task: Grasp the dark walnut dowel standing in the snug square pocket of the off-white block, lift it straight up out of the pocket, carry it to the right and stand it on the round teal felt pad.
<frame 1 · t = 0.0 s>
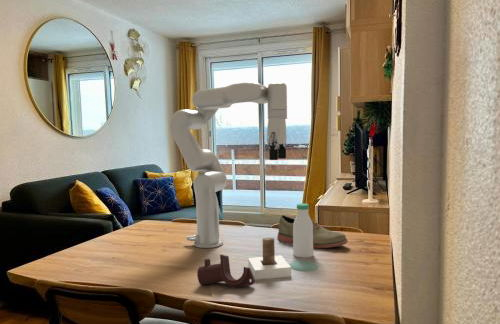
hand: (278, 159, 138), 37 cm above the table, tool pointing down, fingers open, 9 cm apart
milk bottle: (303, 256, 136), on the table
bracket: (227, 286, 110), on the table
walnut dowel: (268, 271, 119), resting on pocket block
pocket block: (268, 272, 119), on the table
oxford shoe: (310, 244, 151), on the table
felt pad: (303, 267, 124), on the table
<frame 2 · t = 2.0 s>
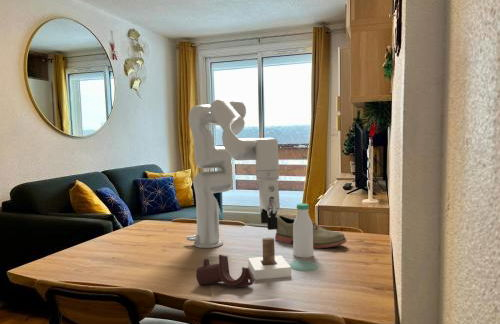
hand: (269, 226, 118), 16 cm above the table, tool pointing down, fingers open, 9 cm apart
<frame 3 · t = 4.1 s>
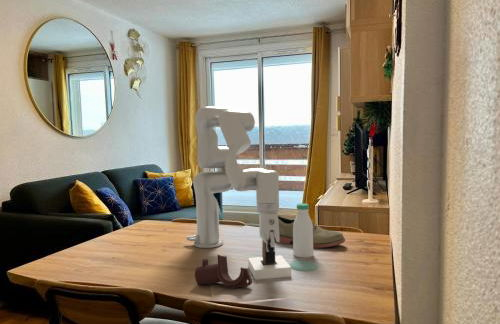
hand: (268, 260, 119), 4 cm above the table, tool pointing down, fingers closed on walnut dowel, 4 cm apart
walnut dowel: (268, 271, 119), resting on pocket block, touching gripper
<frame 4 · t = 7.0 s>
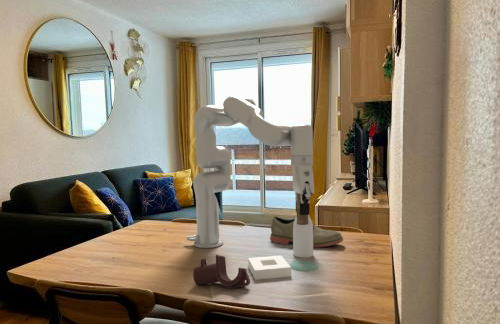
hand: (302, 212, 122), 19 cm above the table, tool pointing down, fingers closed on walnut dowel, 4 cm apart
walnut dowel: (302, 223, 122), point 16 cm above the table, touching gripper
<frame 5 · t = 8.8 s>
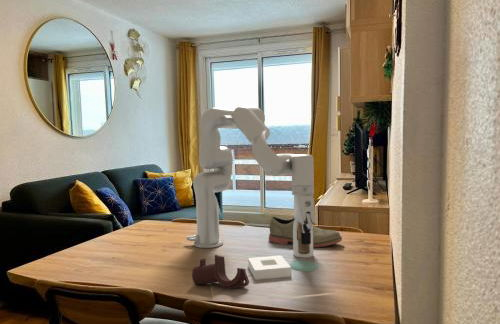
hand: (303, 241, 123), 9 cm above the table, tool pointing down, fingers closed on walnut dowel, 4 cm apart
walnut dowel: (304, 252, 123), point 5 cm above the table, touching gripper
when the fingers open (6 cm above the table, at t = 10.2 s): walnut dowel drops 2 cm, resting on felt pad.
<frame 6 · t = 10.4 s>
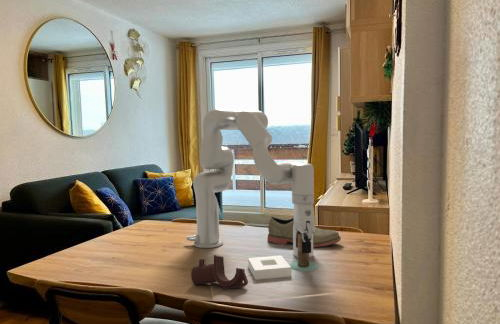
hand: (303, 249, 123), 6 cm above the table, tool pointing down, fingers open, 5 cm apart
walnut dowel: (303, 265, 124), point 1 cm above the table, touching felt pad
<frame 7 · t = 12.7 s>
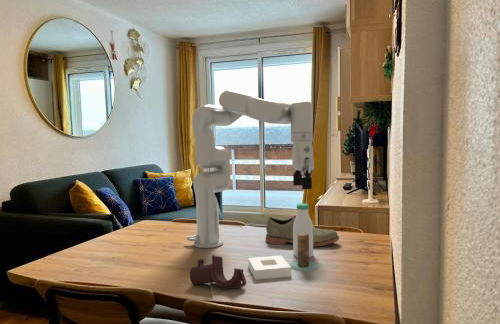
hand: (302, 187, 122), 28 cm above the table, tool pointing down, fingers open, 9 cm apart
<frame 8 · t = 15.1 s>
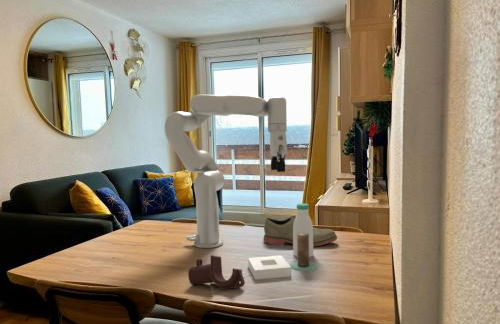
hand: (277, 170, 143), 32 cm above the table, tool pointing down, fingers open, 9 cm apart
at the end: walnut dowel inside the target area on the felt pad (0.1 cm from its centre), point 0.6 cm above the felt pad's base; walnut dowel tilted 0°; walnut dowel touching felt pad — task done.
